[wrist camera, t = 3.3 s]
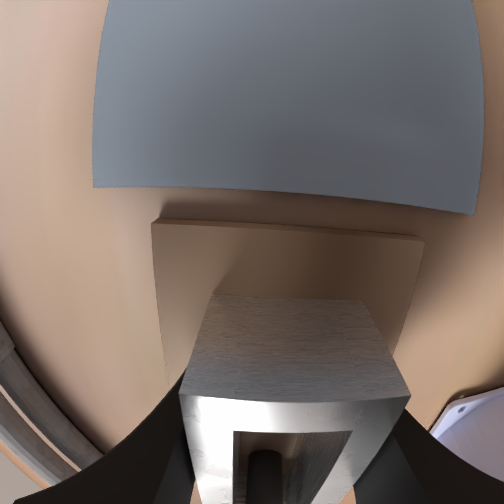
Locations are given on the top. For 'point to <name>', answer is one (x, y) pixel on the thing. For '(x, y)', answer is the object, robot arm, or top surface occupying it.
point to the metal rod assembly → (37, 422)
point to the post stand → (274, 285)
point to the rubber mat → (293, 98)
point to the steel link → (289, 393)
